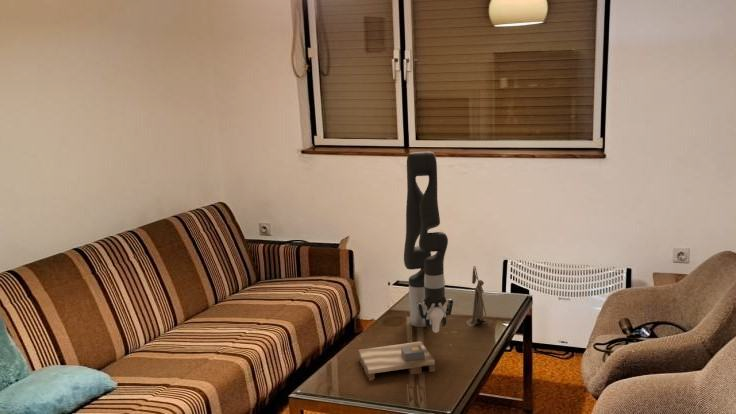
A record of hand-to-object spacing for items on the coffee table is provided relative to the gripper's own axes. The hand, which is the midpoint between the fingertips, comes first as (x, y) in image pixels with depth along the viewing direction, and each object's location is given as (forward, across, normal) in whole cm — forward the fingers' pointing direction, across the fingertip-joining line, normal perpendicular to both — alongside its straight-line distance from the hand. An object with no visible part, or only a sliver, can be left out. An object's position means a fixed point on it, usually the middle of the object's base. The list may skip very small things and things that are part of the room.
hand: (435, 326), depth 270 cm
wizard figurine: (+10, -24, -20) cm, 33 cm away
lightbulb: (+3, 0, 0) cm, 3 cm away
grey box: (+5, +12, +13) cm, 18 cm away
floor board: (+9, +18, +9) cm, 22 cm away
